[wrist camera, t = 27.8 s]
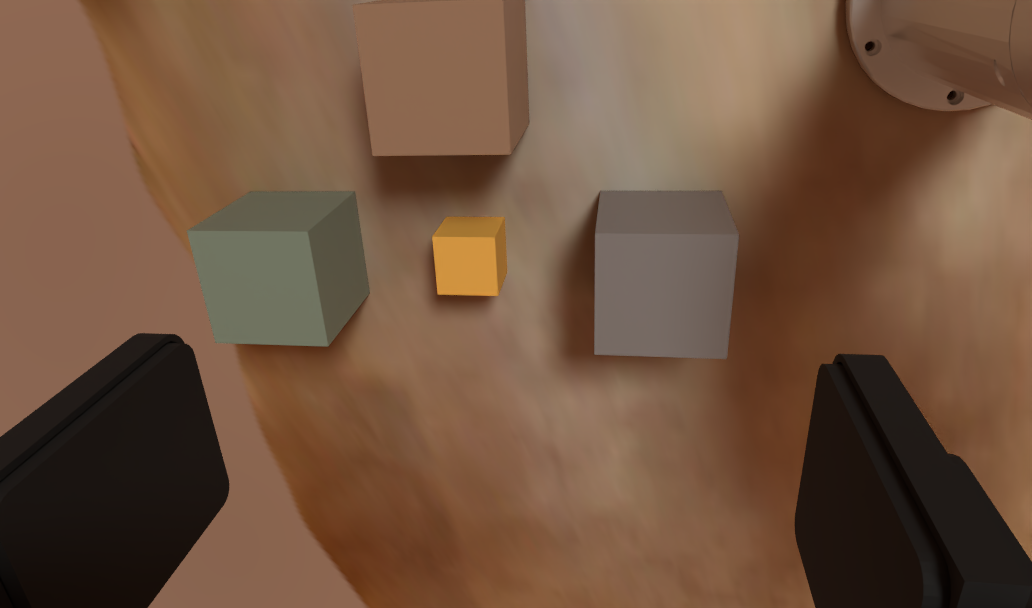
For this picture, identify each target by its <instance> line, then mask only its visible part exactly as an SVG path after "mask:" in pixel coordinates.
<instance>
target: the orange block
mask: <svg viewBox="0 0 1032 608" xmlns="http://www.w3.org/2000/svg"><path fill="white" fill-rule="evenodd" d="M432 239H433V250H434V261H435V271H436V282H437V292H438V294H439V295H480V296H498V295H499V292H500V290H501V287H502V285H503V282H504V279H505V277H506V274H507V256H506V236H505V217H446V218H445V219H444V221H443V222H442V224H441V225H440V226H439V228H438V229H437V231H436V232H435V234H434V235H433V236H432Z"/></svg>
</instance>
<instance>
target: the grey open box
mask: <svg viewBox="0 0 1032 608" xmlns="http://www.w3.org/2000/svg"><path fill="white" fill-rule="evenodd" d="M738 242H739V233H738V230H737V228H736V225H735V223H734V220H733V218H732V215H731V213H730V210H729V208H728V205H727V203H726V200H725V198H724V196H723V193H722V191H600V197H599V205H598V214H597V222H596V230H595V322H594V355H618V356H648V357H677V358H707V359H727V353H728V343H729V333H730V323H731V313H732V302H733V292H734V282H735V272H736V262H737V252H738Z"/></svg>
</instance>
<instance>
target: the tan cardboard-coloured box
mask: <svg viewBox="0 0 1032 608" xmlns="http://www.w3.org/2000/svg"><path fill="white" fill-rule="evenodd" d="M353 12H354V19H355V27H356V35H357V42H358V50H359V57H360V65H361V72H362V80H363V88H364V95H365V103H366V110H367V118H368V125H369V133H370V141H371V148H372V156H418V155H511V153H512V151H513V150H514V148H515V146H516V145H517V143H518V141H519V140H520V138H521V136H522V135H523V133H524V131H525V130H526V128H527V127H528V125H529V100H528V72H527V44H526V17H525V0H378V1H372V2H366V3H360V4H354V5H353Z"/></svg>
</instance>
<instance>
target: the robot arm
mask: <svg viewBox="0 0 1032 608" xmlns="http://www.w3.org/2000/svg"><path fill="white" fill-rule="evenodd" d="M846 27H847V32H848V36H849V40H850V43H851V47H852V50H853V52H854V54H855V56H856V58H857V60H858V62H859V64H860V66H861V68H862V69H863V70H864V71H865V72H866V74H867V75H868V76H869V77H870V78H871V80H872V81H873V82H874V83H875V84H876V85H878V86H879V87H880V88H882V89H883V90H884V91H886V92H887V93H888V94H890V95H892V96H894V97H896V98H898V99H899V100H901V101H903V102H905V103H908V104H911V105H914V106H917V107H921V108H924V109H931V110H939V111H959V110H971V109H975V108H979V107H984V106H988V105H992V104H994V105H996V106H999V107H1001V108H1004V109H1006V110H1009V111H1011V112H1014V113H1016V114H1019V115H1021V116H1024V117H1026V118H1029V119H1031V120H1032V0H846ZM870 41H871V42H872V44H873V46H872V48H871V49H870V50H867V51H866V50H865V45H866V43H867V42H870ZM952 90H953V96H952V97H951V98H949V99H947V96H948V94H949V92H951V91H952ZM228 493H229V479H228V475H227V472H226V468H225V464H224V461H223V457H222V453H221V450H220V446H219V442H218V439H217V435H216V431H215V428H214V424H213V420H212V417H211V413H210V409H209V406H208V402H207V398H206V395H205V391H204V388H203V384H202V380H201V376H200V373H199V369H198V365H197V362H196V358H195V354H194V352H193V349H192V348H191V347H190V346H189V345H187V344H184V341H183V340H182V339H181V338H180V337H179V336H177V335H175V334H145V333H140V334H136V335H134V336H133V337H131V338H130V339H129V340H127V341H126V342H125V343H123V344H122V345H121V346H120V347H118V348H117V349H115V350H114V351H113V352H112V353H110V354H109V355H108V356H106V357H105V358H104V359H102V360H101V361H100V362H98V363H97V364H96V365H95V366H93V367H92V368H90V369H89V370H88V371H87V372H85V373H84V374H83V375H81V376H80V377H79V378H77V379H76V380H75V381H74V382H72V383H71V384H69V385H68V386H67V387H66V388H64V389H63V390H62V391H60V392H59V393H58V394H56V395H55V396H54V397H52V398H51V399H50V400H48V401H47V402H46V403H44V404H43V405H42V406H41V407H39V408H38V409H37V410H35V411H34V412H33V413H31V414H30V415H29V416H27V417H26V418H25V419H23V421H21V422H20V423H18V424H17V425H16V426H14V427H13V428H12V429H10V430H9V431H8V432H6V433H5V434H4V435H2V436H1V437H0V608H148V606H149V605H150V604H151V602H152V601H153V600H154V598H155V597H156V596H157V594H158V593H159V592H160V590H161V589H162V588H163V586H164V585H165V583H166V582H167V581H168V579H169V578H170V577H171V575H172V574H173V573H174V571H175V570H176V569H177V567H178V566H179V565H180V563H181V562H182V561H183V559H184V558H185V557H186V555H187V554H188V552H189V551H190V550H191V548H192V547H193V545H194V544H195V543H196V542H197V540H198V539H199V538H200V536H201V535H202V534H203V532H204V531H205V529H206V528H207V527H208V525H209V524H210V523H211V521H212V520H213V519H214V517H215V516H216V515H217V513H218V512H219V511H220V509H221V508H222V507H223V505H224V503H225V502H226V499H227V497H228ZM795 535H796V541H797V545H798V549H799V552H800V555H801V559H802V562H803V566H804V569H805V573H806V576H807V580H808V583H809V587H810V590H811V594H812V597H813V601H814V604H815V608H1032V561H1031V560H1030V558H1029V557H1028V555H1027V554H1026V553H1025V551H1024V550H1023V548H1022V547H1021V545H1020V544H1019V542H1018V541H1017V539H1016V538H1015V536H1014V535H1013V533H1012V532H1011V530H1010V529H1009V527H1008V526H1007V524H1006V523H1005V521H1004V520H1003V518H1002V517H1001V515H1000V514H999V512H998V511H997V509H996V508H995V506H994V505H993V503H992V502H991V500H990V499H989V497H988V496H987V494H986V493H985V491H984V490H983V488H982V487H981V485H980V484H979V482H978V481H977V479H976V478H975V476H974V475H973V473H972V472H971V470H970V469H969V467H968V466H967V464H966V463H965V462H964V461H963V460H962V459H961V458H960V457H959V456H956V455H953V454H947V452H946V450H945V449H944V447H943V446H942V444H941V443H940V441H939V440H938V438H937V437H936V435H935V433H934V432H933V430H932V429H931V427H930V426H929V424H928V423H927V421H926V419H925V418H924V416H923V415H922V413H921V412H920V410H919V409H918V407H917V405H916V404H915V402H914V401H913V399H912V398H911V396H910V395H909V393H908V392H907V390H906V388H905V387H904V385H903V384H902V382H901V381H900V379H899V378H898V376H897V374H896V373H895V371H894V370H893V368H892V367H891V365H890V364H889V362H888V360H887V359H886V358H885V357H884V356H882V355H856V354H838V355H837V356H836V357H835V359H834V361H833V364H822V365H821V366H820V368H819V371H818V376H817V382H816V388H815V394H814V401H813V407H812V413H811V419H810V426H809V432H808V438H807V444H806V451H805V457H804V463H803V470H802V476H801V482H800V488H799V495H798V501H797V507H796V513H795Z"/></svg>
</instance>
